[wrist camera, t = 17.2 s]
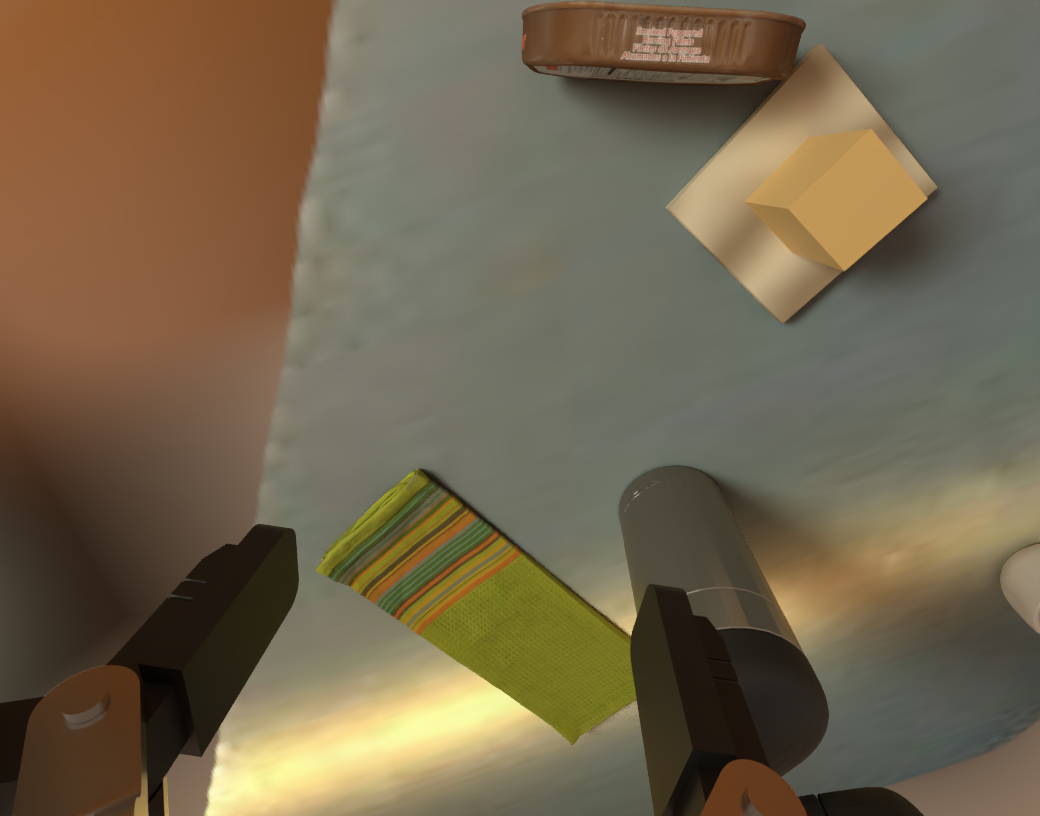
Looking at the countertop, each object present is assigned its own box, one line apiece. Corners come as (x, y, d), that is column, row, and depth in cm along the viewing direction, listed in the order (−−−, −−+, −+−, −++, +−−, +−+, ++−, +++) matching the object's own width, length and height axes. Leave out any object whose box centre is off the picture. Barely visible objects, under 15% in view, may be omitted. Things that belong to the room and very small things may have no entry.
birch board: (925, 186, 34) (937, 187, 33) (776, 319, 38) (782, 323, 37) (812, 47, 31) (821, 43, 30) (665, 207, 35) (668, 208, 34)
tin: (771, 40, 31) (841, -2, 23) (758, 100, 32) (820, 78, 25) (526, 26, 32) (517, -20, 24) (523, 85, 33) (513, 60, 25)
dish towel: (416, 458, 46) (407, 478, 43) (671, 663, 55) (678, 691, 52) (322, 550, 51) (308, 573, 48) (569, 723, 60) (569, 751, 57)
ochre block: (856, 193, 33) (927, 198, 27) (792, 253, 35) (844, 271, 29) (808, 137, 32) (871, 128, 26) (744, 201, 34) (788, 208, 27)
